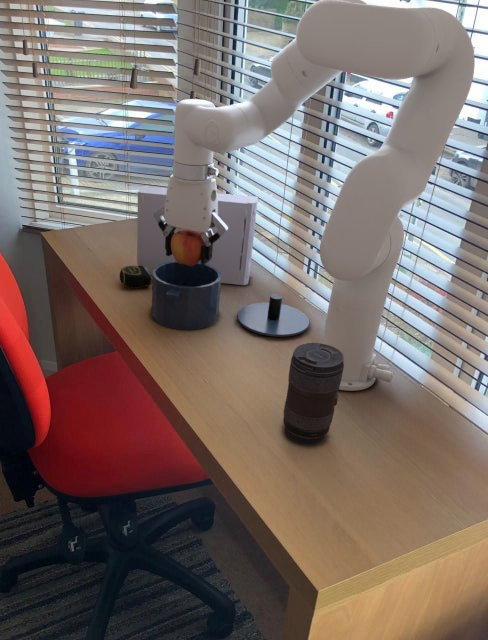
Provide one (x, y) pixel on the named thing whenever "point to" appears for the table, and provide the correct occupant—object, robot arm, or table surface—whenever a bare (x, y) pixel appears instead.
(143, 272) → the tape measure
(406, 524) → the table surface
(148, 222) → the game console
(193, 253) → the apple
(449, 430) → the table surface
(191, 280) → the pot
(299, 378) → the camera lens
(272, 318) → the lid
